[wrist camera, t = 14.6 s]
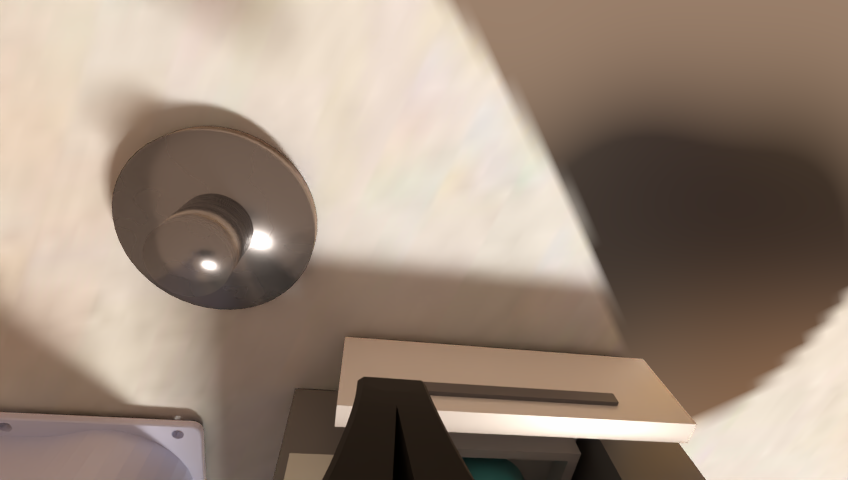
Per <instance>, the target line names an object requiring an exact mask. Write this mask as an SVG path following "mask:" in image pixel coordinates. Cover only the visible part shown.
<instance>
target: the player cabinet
mask: <svg viewBox="0 0 848 480" xmlns="http://www.w3.org/2000/svg"><path fill="white" fill-rule="evenodd" d="M337 399H338V391H328V390H311V389H295V393H294V397H293V401H292V405H291V409H290V413H289V417H288V421H287V425H286V429H285V433H284V437H283V441H282V446H281V450H280V454H279V458H278V462H277V466H276V470H275V474H274V478H273V480H322V479H323V477H324V475H325V473H326V471H327V469H328V467H329V465H330V462H331V460H332V458H333V456H334V453H335V451H336V449H337V446H338V444H339V442H340V439H341V437H342V434H343V432H344V430H345V427H335V418H336V408H337ZM576 444H577V446H578V448H579V450H580V453H581V455H580V458H579V461H578V463H577V466H576V468H575V471H574V473H573V476H572V478H571V480H706V479H705V478H704V477H703V475H702V474H701V473H700V471H699V470H698V469H697V467H696V466H695V464H694V463H693V462H692V460H691V459H690V458H689V456H688V455H687V454H686V452H685V451H684V450H683V448H682V447H681V446H680V444H679V443H675V442H654V441H632V440H611V439H589V438H577V439H576Z"/></svg>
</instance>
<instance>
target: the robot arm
mask: <svg viewBox="0 0 848 480" xmlns="http://www.w3.org/2000/svg"><path fill="white" fill-rule="evenodd" d="M177 430H179V431H181V432H179V431H177ZM0 480H206V465H205V444H204V429H203V426H202V425H201V424H200V423H198V422H196V421H185V420H163V419H141V418H120V417H98V416H77V415H55V414H33V413H12V412H0ZM322 480H475V479H474V478H473V476H472V475H471V473H470V471H469V469H468V468H467V466H466V464H465V462H464V460H463V459H462V457H461V455H460V453H459V452H458V450H457V448H456V446H455V445H454V443H453V441H452V439H451V437H450V435H449V433H448V431H447V429H446V427H445V425H444V423H443V422H442V420H441V418H440V415H439V413H438V411H437V409H436V407H435V405H434V403H433V401H432V398H431V396H430V394H429V392H428V389H427V387H426V385H425V384H424V382H423V381H422V380H408V379H393V378H379V377H362V378H361V379H359V380H358V381H357V388H356V395H355V399H354V403H353V407H352V410H351V413H350V416H349V419H348V421H347V424H346V427H345V430H344V432H343V434H342V437H341V439H340V442H339V444H338V446H337V449H336V451H335V453H334V456H333V458H332V460H331V462H330V465H329V467H328V469H327V471H326V473H325V475H324V477H323V479H322Z"/></svg>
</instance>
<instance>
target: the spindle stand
mask: <svg viewBox="0 0 848 480" xmlns="http://www.w3.org/2000/svg"><path fill="white" fill-rule="evenodd" d="M112 213H113V221H114V226H115V230H116V233H117V236H118V239H119V241H120V243H121V245H122V247H123V249H124V251H125V253H126V254H127V256H128V257H129V259H130V260H131V262H132V263H133V264H134V265H135V266H136V268H137V269H138V270H139V271H140V272H141V273H142V274H143V275H144V276H145V277H146V278H147V279H148V280H149V281H151V282H152V283H153V284H155V285H156V286H157V287H159V288H160V289H162V290H163V291H165V292H167V293H168V294H170V295H172V296H174V297H176V298H178V299H180V300H183V301H185V302H188V303H191V304H194V305H198V306H202V307H206V308H213V309H229V310H232V309H243V308H248V307H253V306H257V305H260V304H263V303H266V302H268V301H270V300H272V299H274V298H276V297H278V296H279V295H281V294H282V293H284V292H285V291H286V290H288V289H289V288H290V287H291V286H292V285H293V284H294V283H295V282H296V281H297V280H298V279H299V278H300V276H301V275H302V273H303V272H304V270H305V269H306V266H307V264H308V262H309V260H310V257H311V254H312V251H313V248H314V245H315V241H316V235H317V214H316V207H315V204H314V201H313V197H312V195H311V192H310V190H309V188H308V186H307V184H306V182H305V181H304V179H303V177H302V176H301V174H300V173H299V172H298V170H297V169H296V168H295V167H294V165H293V164H292V163H291V162H290V161H289V160H288V159H287V158H286V157H285V156H284V155H282V154H281V153H280V152H279V151H277V150H276V149H275V148H274V147H272V146H270V145H269V144H267V143H266V142H264V141H262V140H260V139H258V138H256V137H254V136H252V135H250V134H247V133H244V132H241V131H238V130H234V129H229V128H224V127H214V126H200V127H191V128H186V129H181V130H178V131H175V132H172V133H169V134H167V135H165V136H162V137H160V138H158V139H156V140H154V141H152V142H150V143H148V144H147V145H145V146H144V147H143V148H141V149H140V150H139V151H137V152H136V153H135V154H134V155H133V156H132V157H131V158H130V159H129V161H128V162H127V163H126V165H125V166H124V168H123V169H122V171H121V173H120V175H119V177H118V179H117V181H116V185H115V189H114V192H113V201H112Z"/></svg>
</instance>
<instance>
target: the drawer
mask: <svg viewBox="0 0 848 480" xmlns="http://www.w3.org/2000/svg"><path fill="white" fill-rule="evenodd" d="M362 377H379V378H393V379H408V380H422V381H423V382H424V384H425V385H426V387H427V389H428V392H429V394H430V396H431V398H432V401H433V403H434V405H435V407H436V409H437V411H438V413H439V415H440V418H441V420H442V422H443V423H444V425H445V427H446V429H447V431H448V433H449V435H450V437H451V439H452V441H453V443H454V445H455V446H456V448H457V450H458V452H459V453H460V455H461V457H470V458H496V459H507V460H509V461H510V462H512V463H513V464H514V465H515V466H517V468H518V469H519V470H520V472H521V473H522V475H523V478H524V480H571V478H572V476H573V473H574V471H575V468H576V466H577V463H578V461H579V458H580V455H581V453H580V450H579V448H578V446H577V444H576V439H577V438H589V439H611V440H632V441H654V442H675V443H688V441H689V439H690V437H691V435H692V433H693V431H694V429H695V427H696V425H697V424H696V423H695V422H694V420H693V419H692V418H691V417H690V416H689V414H688V413H687V412H686V411H685V409H684V408H683V407H682V406H681V405H680V403H679V402H678V401H677V400H676V399H675V397H674V396H673V395H672V394H671V393H670V391H669V390H668V389H667V388H666V386H665V385H664V384H663V383H662V382H661V380H660V379H659V378H658V377H657V376H656V374H655V373H654V372H653V371H652V370H651V368H650V367H649V366H648V365H647V364H646V362H645V361H644V360H643V359H636V358H623V357H610V356H597V355H583V354H570V353H556V352H543V351H530V350H516V349H503V348H489V347H476V346H463V345H449V344H436V343H422V342H409V341H396V340H382V339H369V338H355V337H345V342H344V350H343V358H342V366H341V375H340V383H339V391H338V399H337V408H336V418H335V427H346V424H347V421H348V419H349V416H350V413H351V410H352V407H353V403H354V399H355V395H356V388H357V381H358V380H359V379H361V378H362Z"/></svg>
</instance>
